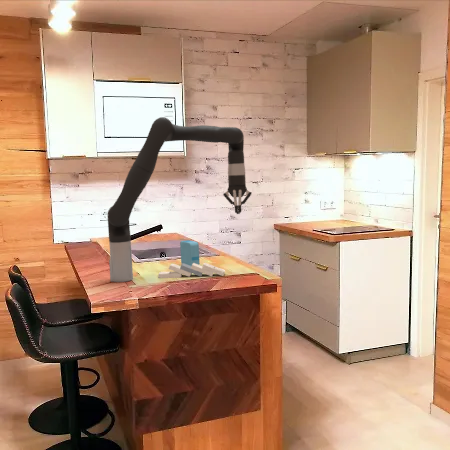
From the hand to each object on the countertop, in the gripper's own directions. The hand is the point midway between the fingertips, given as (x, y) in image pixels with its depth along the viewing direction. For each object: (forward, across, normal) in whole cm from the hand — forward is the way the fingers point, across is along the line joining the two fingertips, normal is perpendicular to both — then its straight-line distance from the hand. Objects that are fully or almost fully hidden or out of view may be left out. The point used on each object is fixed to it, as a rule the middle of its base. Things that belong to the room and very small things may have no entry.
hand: (238, 213), depth 222 cm
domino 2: (+26, +22, 0) cm, 34 cm away
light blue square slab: (+27, +25, -26) cm, 45 cm away
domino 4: (+26, +12, 0) cm, 29 cm away
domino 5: (+26, +7, 0) cm, 27 cm away
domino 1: (+26, +26, 0) cm, 37 cm away
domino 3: (+26, +17, 0) cm, 31 cm away
